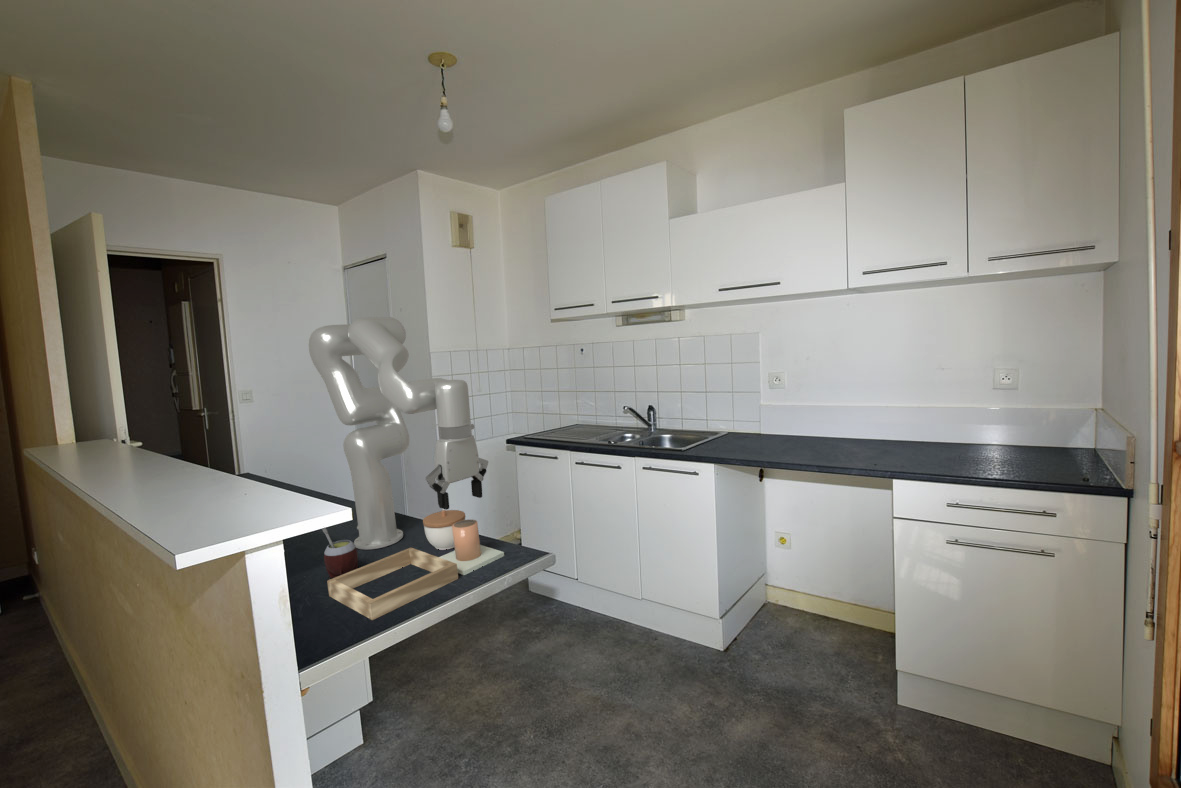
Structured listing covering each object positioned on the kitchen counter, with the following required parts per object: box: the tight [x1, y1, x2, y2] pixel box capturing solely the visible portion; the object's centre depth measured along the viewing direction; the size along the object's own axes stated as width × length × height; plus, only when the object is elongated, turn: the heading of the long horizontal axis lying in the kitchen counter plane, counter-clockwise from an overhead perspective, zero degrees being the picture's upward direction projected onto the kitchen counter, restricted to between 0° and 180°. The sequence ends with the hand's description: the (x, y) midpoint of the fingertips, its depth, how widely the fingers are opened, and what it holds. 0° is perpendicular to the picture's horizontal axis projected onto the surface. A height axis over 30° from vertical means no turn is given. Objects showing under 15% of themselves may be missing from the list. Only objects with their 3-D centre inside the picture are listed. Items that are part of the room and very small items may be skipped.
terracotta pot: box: [452, 519, 481, 561], centre depth 130 cm, size 6×6×8 cm
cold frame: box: [326, 547, 459, 621], centre depth 118 cm, size 18×20×4 cm
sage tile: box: [438, 544, 505, 576], centre depth 130 cm, size 12×12×1 cm
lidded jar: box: [422, 509, 466, 551], centre depth 140 cm, size 11×11×9 cm
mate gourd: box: [322, 527, 359, 580], centre depth 125 cm, size 8×8×15 cm
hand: (461, 502), depth 129 cm, fingers open, 9 cm apart
